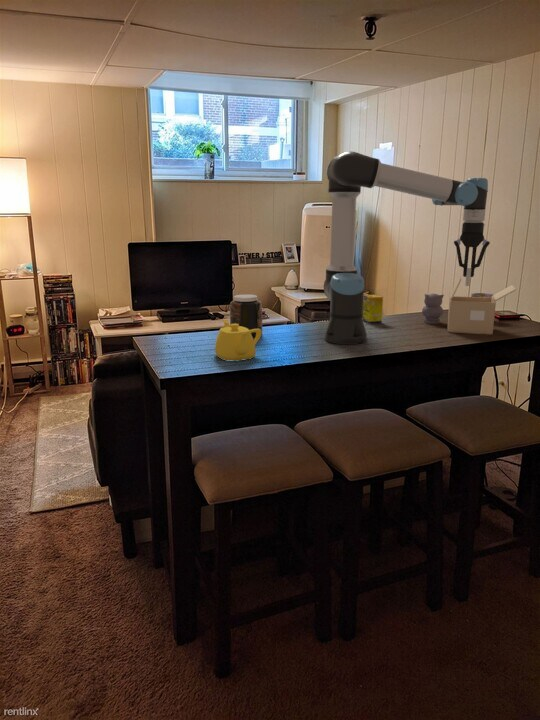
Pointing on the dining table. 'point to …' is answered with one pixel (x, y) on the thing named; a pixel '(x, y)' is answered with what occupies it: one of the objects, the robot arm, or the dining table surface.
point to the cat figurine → (432, 308)
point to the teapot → (236, 342)
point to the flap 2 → (503, 293)
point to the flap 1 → (455, 287)
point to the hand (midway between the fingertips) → (467, 285)
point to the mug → (482, 295)
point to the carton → (471, 315)
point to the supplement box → (372, 308)
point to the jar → (246, 312)
